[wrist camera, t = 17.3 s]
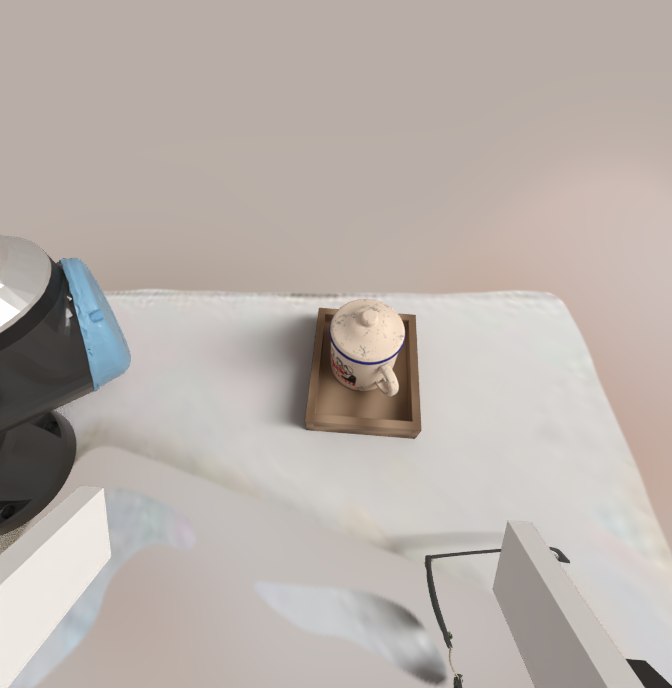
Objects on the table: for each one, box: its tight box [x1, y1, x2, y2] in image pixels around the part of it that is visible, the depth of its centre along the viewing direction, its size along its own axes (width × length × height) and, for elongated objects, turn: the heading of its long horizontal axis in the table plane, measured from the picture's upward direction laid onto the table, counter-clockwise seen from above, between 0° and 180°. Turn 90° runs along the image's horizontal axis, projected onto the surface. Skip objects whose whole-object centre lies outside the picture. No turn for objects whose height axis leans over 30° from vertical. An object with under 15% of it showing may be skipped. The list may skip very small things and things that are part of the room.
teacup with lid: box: [329, 299, 405, 397], centre depth 44 cm, size 12×9×12 cm
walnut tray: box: [305, 308, 421, 439], centre depth 48 cm, size 14×17×4 cm
